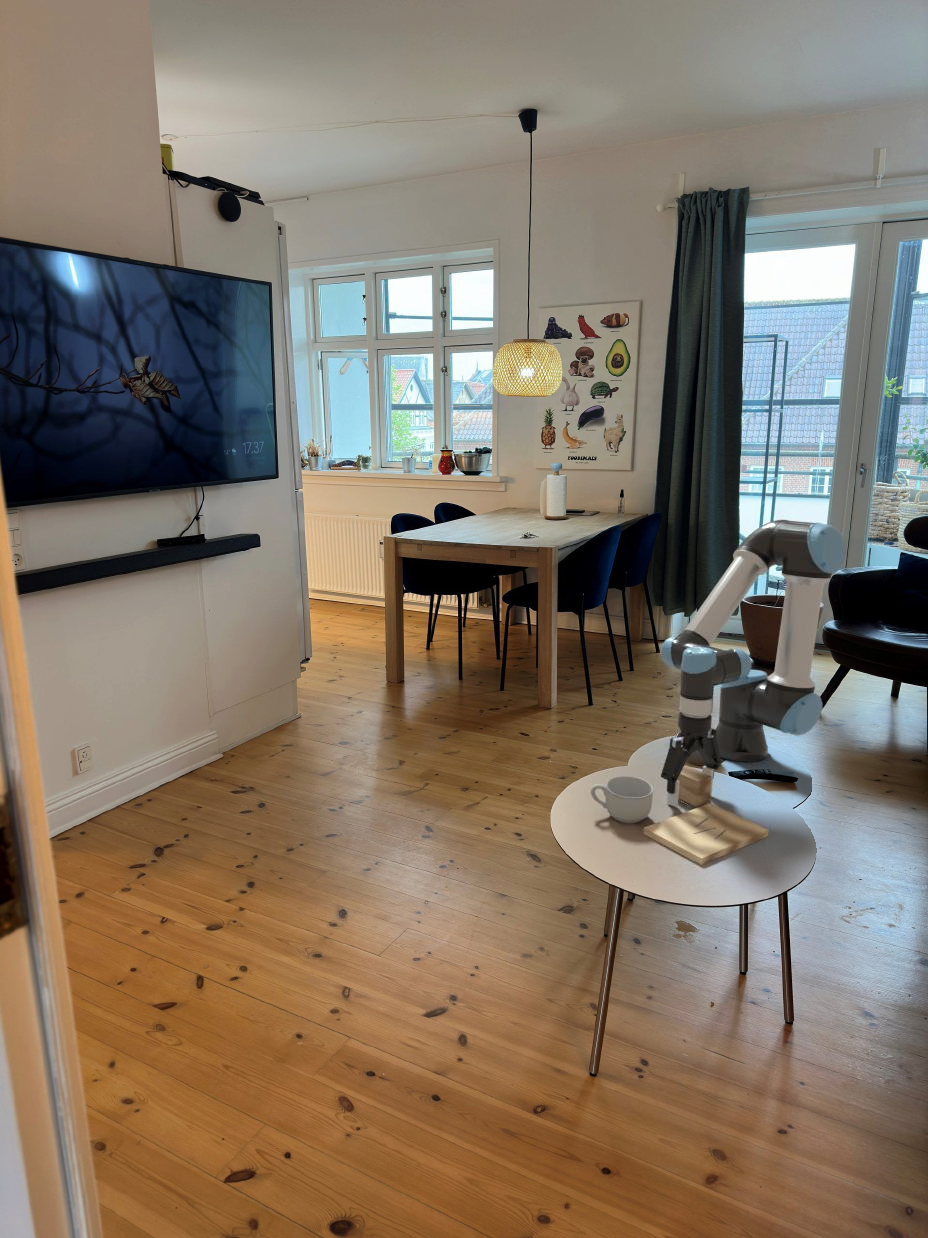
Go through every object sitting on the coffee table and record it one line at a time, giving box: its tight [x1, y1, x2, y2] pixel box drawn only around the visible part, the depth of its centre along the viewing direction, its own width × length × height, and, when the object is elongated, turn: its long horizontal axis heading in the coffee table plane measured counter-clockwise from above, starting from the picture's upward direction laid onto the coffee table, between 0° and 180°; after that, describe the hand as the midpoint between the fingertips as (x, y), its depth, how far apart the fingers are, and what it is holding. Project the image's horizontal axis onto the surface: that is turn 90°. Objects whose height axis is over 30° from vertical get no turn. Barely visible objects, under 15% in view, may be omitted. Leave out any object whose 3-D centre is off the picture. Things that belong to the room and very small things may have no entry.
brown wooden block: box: [673, 764, 712, 809], centre depth 195 cm, size 5×8×7 cm, turn 34°
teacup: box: [590, 775, 654, 824], centre depth 186 cm, size 14×11×8 cm
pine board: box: [643, 802, 770, 866], centre depth 178 cm, size 22×16×2 cm
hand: (689, 798), depth 196 cm, fingers open, 11 cm apart
